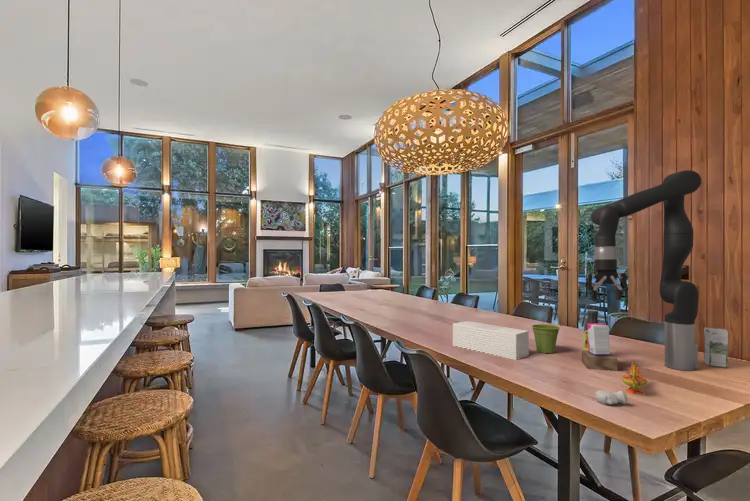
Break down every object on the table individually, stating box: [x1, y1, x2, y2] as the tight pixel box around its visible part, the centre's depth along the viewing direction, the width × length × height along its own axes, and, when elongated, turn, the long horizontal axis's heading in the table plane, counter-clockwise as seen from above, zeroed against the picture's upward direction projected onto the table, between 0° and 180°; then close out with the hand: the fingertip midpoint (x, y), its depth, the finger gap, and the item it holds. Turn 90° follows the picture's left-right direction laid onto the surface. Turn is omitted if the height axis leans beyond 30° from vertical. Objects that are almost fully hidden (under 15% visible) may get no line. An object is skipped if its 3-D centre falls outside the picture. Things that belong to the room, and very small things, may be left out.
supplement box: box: [587, 322, 611, 356], centre depth 151 cm, size 6×6×12 cm
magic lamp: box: [621, 361, 648, 396], centre depth 125 cm, size 7×18×11 cm, turn 145°
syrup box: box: [703, 326, 729, 369], centre depth 152 cm, size 6×6×14 cm
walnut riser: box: [581, 349, 618, 372], centre depth 151 cm, size 10×10×5 cm
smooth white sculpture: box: [594, 389, 628, 406], centre depth 114 cm, size 4×8×5 cm
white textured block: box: [452, 320, 530, 361], centre depth 175 cm, size 32×11×11 cm, turn 42°
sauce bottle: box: [582, 309, 599, 351], centre depth 164 cm, size 7×6×20 cm
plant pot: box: [530, 323, 561, 354], centre depth 173 cm, size 12×12×11 cm
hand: (606, 299), depth 151 cm, fingers open, 8 cm apart
